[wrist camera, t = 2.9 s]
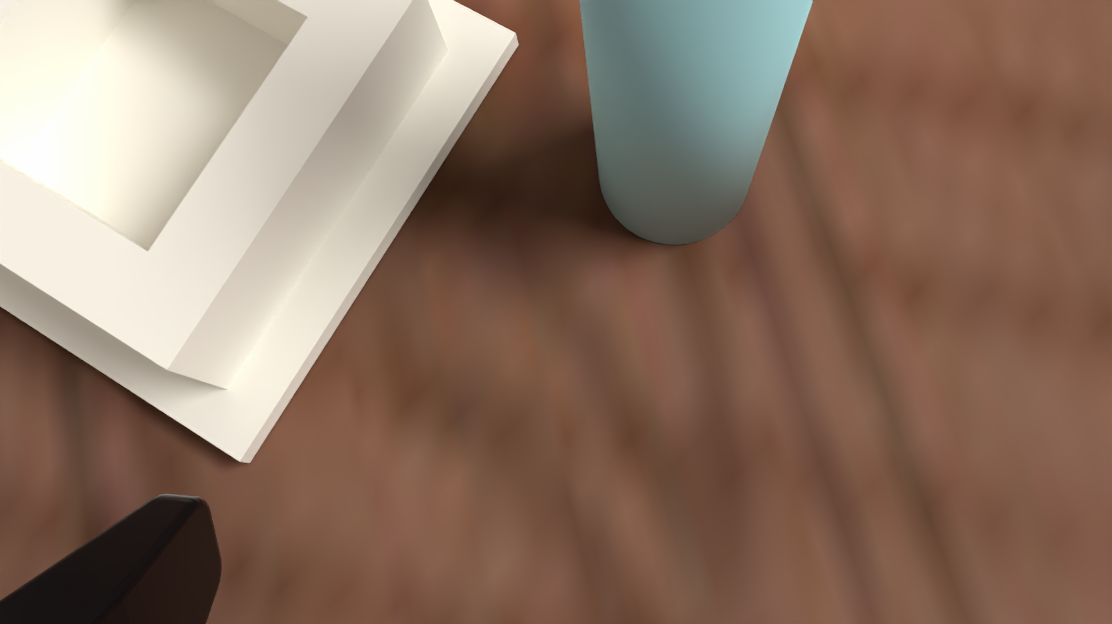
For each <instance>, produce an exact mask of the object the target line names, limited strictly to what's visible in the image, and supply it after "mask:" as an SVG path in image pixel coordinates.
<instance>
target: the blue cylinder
mask: <svg viewBox="0 0 1112 624" xmlns="http://www.w3.org/2000/svg"><path fill="white" fill-rule="evenodd" d="M812 2H813V0H580V8H581V17H582V26H583V35H584V45H585V54H586V63H587V72H588V81H589V91H590V100H591V109H592V118H593V127H594V136H595V146H596V155H597V164H598V173H599V182H600V187H601V192H602V195H603V198H604V200H605V202H606V204H607V206H608V208H609V210H610V211H611V213H612V214H613V216H614V217H615V218H616V219H617V220H618V221H619V222H620V223H621V224H622V225H623V226H624V227H625V228H626V229H628V230H629V231H631V232H632V233H634V234H635V235H637V236H639V237H641V238H644V239H646V240H649V241H652V242H655V243H661V244H669V245H680V244H688V243H693V242H697V241H700V240H703V239H706V238H708V237H710V236H712V235H714V234H715V233H717V232H718V231H720V230H721V229H723V228H724V227H725V226H726V225H727V224H729V223H730V222H731V220H732V219H733V218H734V217H735V216H736V215H737V213H738V212H739V210H740V209H741V207H742V205H743V203H744V201H745V199H746V196H747V193H748V190H749V187H750V184H751V181H752V178H753V175H754V172H755V170H756V167H757V164H758V161H759V158H760V155H761V152H762V149H763V146H764V143H765V140H766V137H767V134H768V131H769V128H770V125H771V122H772V119H773V117H774V114H775V111H776V108H777V105H778V102H779V99H780V96H781V93H782V90H783V87H784V84H785V81H786V78H787V75H788V72H789V69H790V66H791V64H792V61H793V58H794V55H795V52H796V49H797V46H798V43H799V40H800V37H801V34H802V31H803V28H804V25H805V22H806V19H807V16H808V13H809V10H810V8H811V5H812Z"/></svg>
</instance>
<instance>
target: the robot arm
mask: <svg viewBox="0 0 1112 624" xmlns="http://www.w3.org/2000/svg"><path fill="white" fill-rule="evenodd" d="M220 577H221V556H220V552H219V547H218V543H217V538H216V534H215V529H214V525H213V521H212V516H211V512H210V509H209V506H208V504H207V502H206V501H205V500H204V499H202V498H200V497H196V496H185V495H175V494H161V495H159V496H156V497H154V498H153V499H151V500H149V501H148V502H146V503H145V504H143V505H142V506H140V507H139V508H137V509H136V510H135V511H133V512H132V513H130V514H129V515H127V516H126V517H124V518H123V519H121V520H120V521H118V522H117V523H115V524H114V525H112V526H111V527H109V528H108V529H106V530H105V531H103V532H102V533H100V534H99V535H97V536H96V537H94V538H93V539H91V540H90V541H88V542H87V543H85V544H84V545H82V546H81V547H79V548H78V549H76V550H75V551H73V552H72V553H70V554H69V555H67V556H66V557H65V558H63V559H62V560H60V561H59V562H57V563H56V564H54V565H53V566H51V567H50V568H48V569H47V570H45V571H44V572H42V573H41V574H39V575H38V576H36V577H35V578H33V579H32V580H30V581H29V582H27V583H26V584H24V585H23V586H21V587H20V588H18V589H17V590H15V591H14V592H12V593H11V594H9V595H8V596H6V597H5V598H3V599H2V600H0V624H206V622H207V619H208V616H209V613H210V610H211V607H212V604H213V601H214V598H215V595H216V592H217V589H218V586H219V582H220Z"/></svg>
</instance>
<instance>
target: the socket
mask: <svg viewBox="0 0 1112 624" xmlns="http://www.w3.org/2000/svg"><path fill="white" fill-rule="evenodd" d="M518 45H519V44H518V40H517V36H516V33H515V32H513V31H511V30H509V29H507V28H505V27H503V26H501V25H499V24H497V23H495V22H493V21H492V20H490V19H488V18H486V17H484V16H482V15H480V14H478V13H476V12H474V11H472V10H471V9H469V8H467V7H465V6H463V5H461V4H459V3H457V2H455V1H453V0H0V307H2V308H3V309H5V310H6V311H8V312H10V313H11V314H13V315H14V316H16V317H17V318H19V319H20V320H22V321H23V322H25V323H27V324H28V325H30V326H31V327H33V328H34V329H36V330H37V331H39V332H40V333H42V334H43V335H45V336H47V337H48V338H50V339H51V340H53V341H54V342H56V343H57V344H59V345H60V346H62V347H64V348H65V349H67V350H68V351H70V352H71V353H73V354H74V355H76V356H77V357H79V358H81V359H82V360H84V361H85V362H87V363H88V364H90V365H91V366H93V367H94V368H96V369H97V370H99V371H101V372H102V373H104V374H105V375H107V376H108V377H110V378H111V379H113V380H114V381H116V382H118V383H119V384H121V385H122V386H124V387H125V388H127V389H128V390H130V391H131V392H133V393H134V394H136V395H138V396H139V397H141V398H142V399H144V400H145V401H147V402H148V403H150V404H151V405H153V406H155V407H156V408H158V409H159V410H161V411H162V412H164V413H165V414H167V415H168V416H170V417H172V418H173V419H175V420H176V421H178V422H179V423H181V424H182V425H184V426H185V427H187V428H188V429H190V430H192V431H193V432H195V433H196V434H198V435H199V436H201V437H202V438H204V439H205V440H207V441H209V442H210V443H212V444H213V445H215V446H216V447H218V448H219V449H221V450H222V451H224V452H226V453H227V454H229V455H230V456H232V457H233V458H235V459H236V460H238V461H239V462H245V463H250V462H251V460H252V459H253V457H254V456H255V454H256V453H257V451H258V450H259V448H260V446H261V445H262V443H263V442H264V440H265V439H266V437H267V436H268V434H269V432H270V431H271V429H272V428H273V426H274V425H275V423H276V422H277V420H278V418H279V417H280V415H281V414H282V412H283V411H284V409H285V408H286V406H287V404H288V403H289V401H290V400H291V398H292V397H293V395H294V394H295V392H296V390H297V389H298V387H299V386H300V384H301V383H302V381H303V380H304V378H305V376H306V375H307V373H308V372H309V370H310V369H311V367H312V366H313V364H314V362H315V361H316V359H317V358H318V356H319V355H320V353H321V352H322V350H323V348H324V347H325V345H326V344H327V342H328V341H329V339H330V338H331V336H332V334H333V333H334V331H335V330H336V328H337V327H338V325H339V324H340V322H341V320H342V319H343V317H344V316H345V314H346V313H347V311H348V310H349V308H350V306H351V305H352V303H353V302H354V300H355V299H356V297H357V296H358V294H359V292H360V291H361V289H362V288H363V286H364V285H365V283H366V282H367V280H368V278H369V277H370V275H371V274H372V272H373V271H374V269H375V268H376V266H377V264H378V263H379V261H380V260H381V258H382V257H383V255H384V253H385V252H386V250H387V249H388V247H389V246H390V244H391V243H392V241H393V239H394V238H395V236H396V235H397V233H398V232H399V230H400V229H401V227H402V225H403V224H404V222H405V221H406V219H407V218H408V216H409V215H410V213H411V211H412V210H413V208H414V207H415V205H416V204H417V202H418V201H419V199H420V197H421V196H422V194H423V193H424V191H425V190H426V188H427V187H428V185H429V183H430V182H431V180H432V179H433V177H434V176H435V174H436V173H437V171H438V169H439V168H440V166H441V165H442V163H443V162H444V160H445V159H446V157H447V155H448V154H449V152H450V151H451V149H452V148H453V146H454V145H455V143H456V141H457V140H458V138H459V137H460V135H461V134H462V132H463V131H464V129H465V127H466V126H467V124H468V123H469V121H470V120H471V118H472V117H473V115H474V113H475V112H476V110H477V109H478V107H479V106H480V104H481V103H482V101H483V99H484V98H485V96H486V95H487V93H488V92H489V90H490V89H491V87H492V85H493V84H494V82H495V81H496V79H497V78H498V76H499V75H500V73H501V71H502V70H503V68H504V67H505V65H506V64H507V62H508V61H509V59H510V57H511V56H512V54H513V53H514V51H515V50H516V48H517V47H518Z"/></svg>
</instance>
